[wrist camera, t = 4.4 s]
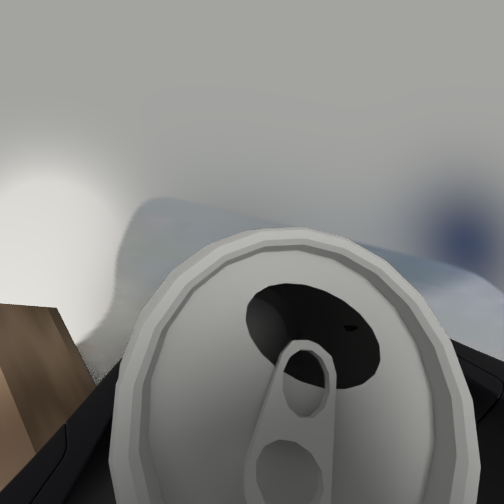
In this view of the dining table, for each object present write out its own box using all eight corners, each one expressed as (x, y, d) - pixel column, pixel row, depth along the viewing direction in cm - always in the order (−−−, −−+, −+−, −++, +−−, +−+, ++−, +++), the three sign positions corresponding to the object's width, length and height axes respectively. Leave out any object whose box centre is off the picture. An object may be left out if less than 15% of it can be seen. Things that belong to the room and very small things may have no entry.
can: (311, 308, 16) (522, 274, 4) (279, 420, 13) (579, 1002, 2) (220, 270, 16) (201, 146, 5) (173, 374, 13) (-128, 658, 2)
